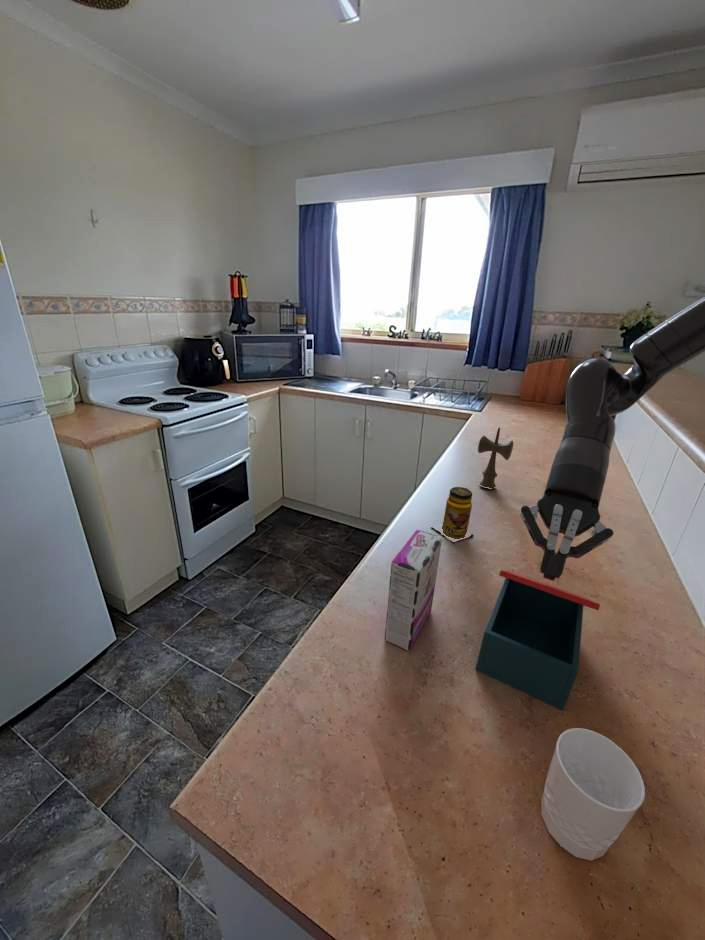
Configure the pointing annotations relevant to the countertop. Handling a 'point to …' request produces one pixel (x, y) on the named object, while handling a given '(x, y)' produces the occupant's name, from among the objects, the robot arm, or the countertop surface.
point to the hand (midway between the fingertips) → (549, 578)
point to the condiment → (457, 513)
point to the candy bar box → (412, 588)
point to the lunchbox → (533, 642)
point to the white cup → (589, 793)
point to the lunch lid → (550, 589)
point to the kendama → (493, 457)
